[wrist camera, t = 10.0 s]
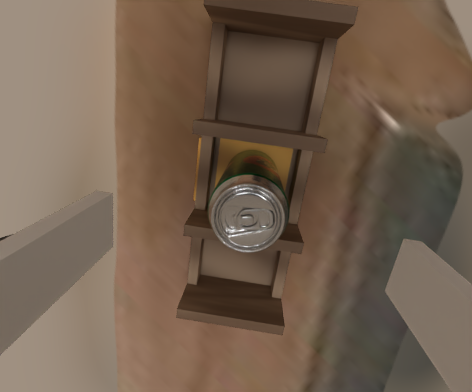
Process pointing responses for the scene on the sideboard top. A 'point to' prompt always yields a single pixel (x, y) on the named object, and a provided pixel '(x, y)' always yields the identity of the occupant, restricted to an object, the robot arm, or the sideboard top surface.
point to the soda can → (249, 203)
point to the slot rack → (258, 144)
